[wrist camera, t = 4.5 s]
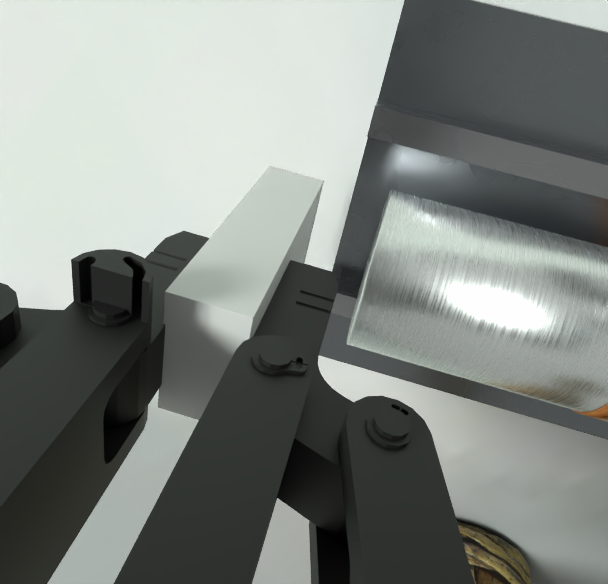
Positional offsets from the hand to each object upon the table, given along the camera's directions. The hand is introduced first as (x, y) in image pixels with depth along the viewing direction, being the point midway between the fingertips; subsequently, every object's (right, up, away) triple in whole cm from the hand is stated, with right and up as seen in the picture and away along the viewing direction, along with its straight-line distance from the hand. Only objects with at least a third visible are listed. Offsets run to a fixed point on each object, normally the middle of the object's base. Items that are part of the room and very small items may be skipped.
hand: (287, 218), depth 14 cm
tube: (+10, -2, +1) cm, 10 cm away
